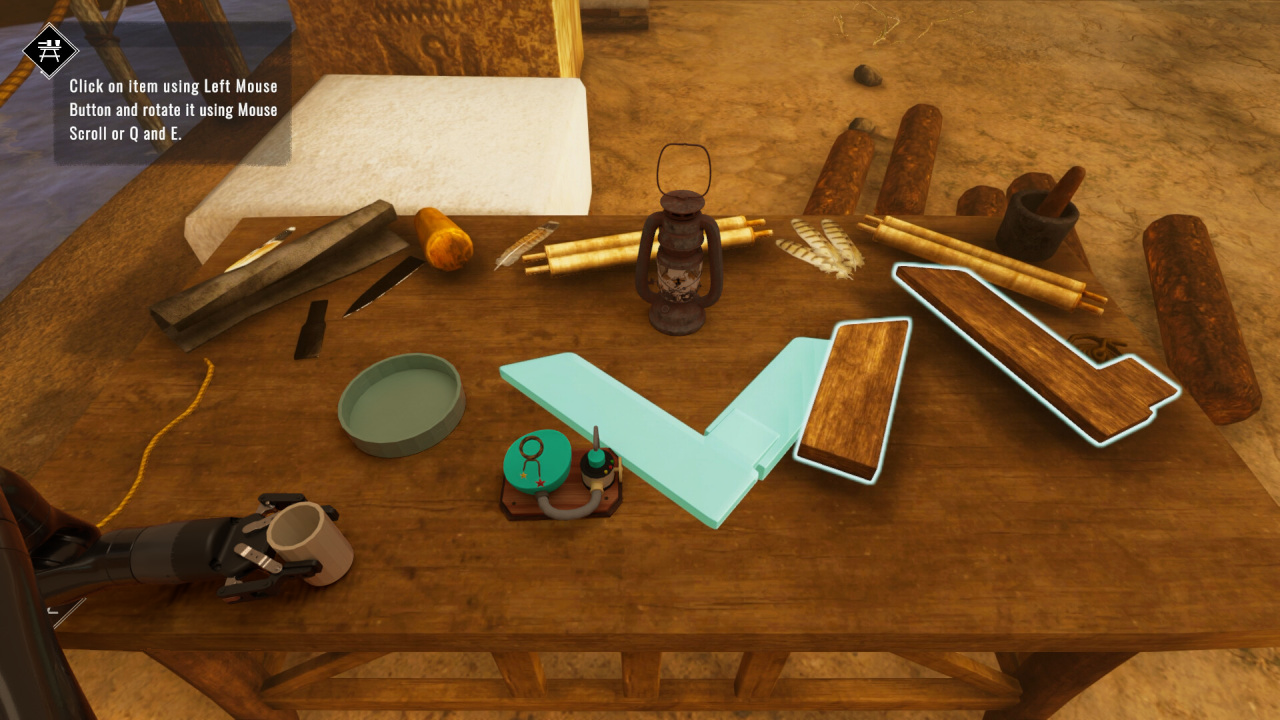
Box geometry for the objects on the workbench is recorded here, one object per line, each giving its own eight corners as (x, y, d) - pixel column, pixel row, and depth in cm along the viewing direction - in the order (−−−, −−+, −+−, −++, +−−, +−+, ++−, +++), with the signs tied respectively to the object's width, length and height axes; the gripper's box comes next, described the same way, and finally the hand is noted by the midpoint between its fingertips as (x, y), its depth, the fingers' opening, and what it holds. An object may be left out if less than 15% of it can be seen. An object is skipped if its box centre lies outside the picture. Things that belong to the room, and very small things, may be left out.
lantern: (640, 295, 116) (637, 124, 91) (720, 302, 115) (740, 130, 89) (631, 331, 109) (626, 156, 84) (717, 339, 107) (738, 163, 82)
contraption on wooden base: (624, 532, 80) (620, 472, 69) (495, 537, 80) (471, 478, 69) (622, 449, 90) (619, 385, 79) (507, 453, 89) (488, 390, 79)
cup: (346, 583, 74) (314, 547, 67) (295, 588, 74) (258, 552, 67) (359, 538, 79) (330, 499, 71) (311, 542, 78) (277, 503, 71)
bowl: (458, 452, 90) (451, 437, 87) (332, 462, 89) (322, 447, 86) (472, 365, 103) (467, 349, 100) (363, 372, 102) (355, 356, 99)
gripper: (142, 595, 63) (296, 582, 64) (200, 484, 74) (333, 473, 74) (181, 621, 69) (323, 608, 70) (231, 514, 79) (354, 504, 80)
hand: (328, 539), depth 72 cm, fingers closed on cup, 6 cm apart
